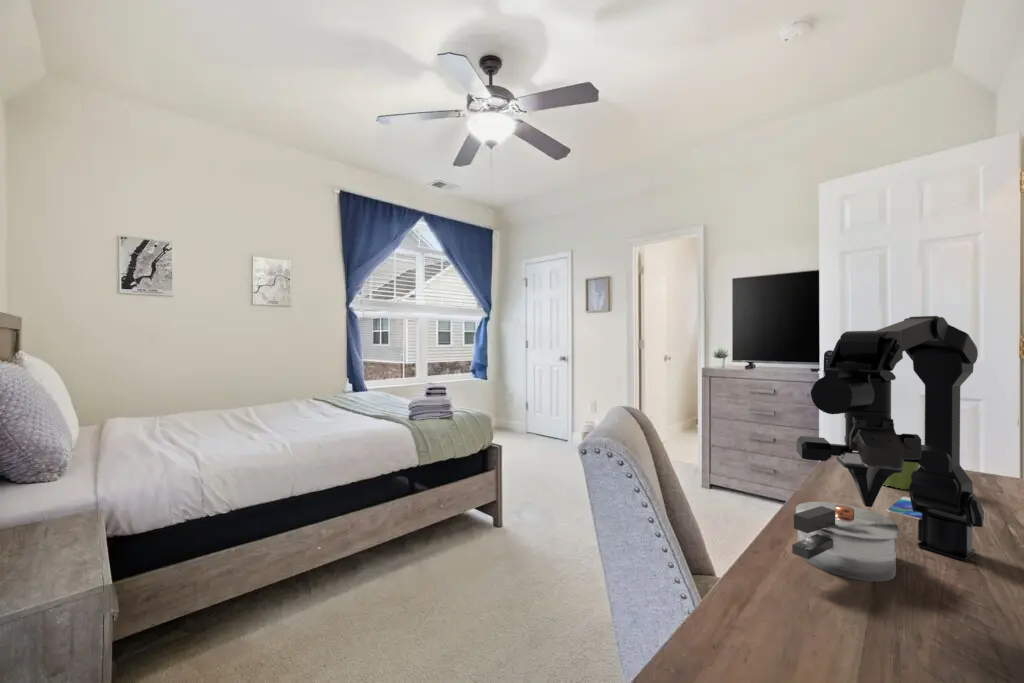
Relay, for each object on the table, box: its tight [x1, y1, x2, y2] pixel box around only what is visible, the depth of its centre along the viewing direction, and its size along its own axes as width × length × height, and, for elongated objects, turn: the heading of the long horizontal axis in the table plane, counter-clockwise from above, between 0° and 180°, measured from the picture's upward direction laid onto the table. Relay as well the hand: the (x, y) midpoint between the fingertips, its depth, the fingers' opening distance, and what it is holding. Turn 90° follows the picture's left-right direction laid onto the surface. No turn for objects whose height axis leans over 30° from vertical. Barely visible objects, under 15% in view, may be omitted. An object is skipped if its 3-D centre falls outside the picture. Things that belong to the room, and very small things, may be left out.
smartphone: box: [886, 495, 922, 520], centre depth 103 cm, size 7×1×15 cm
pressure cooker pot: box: [791, 530, 897, 583], centre depth 78 cm, size 25×14×6 cm, turn 121°
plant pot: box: [883, 462, 920, 490], centre depth 120 cm, size 12×12×11 cm
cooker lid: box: [793, 501, 900, 541], centre depth 78 cm, size 20×15×3 cm
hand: (867, 506), depth 71 cm, fingers closed
